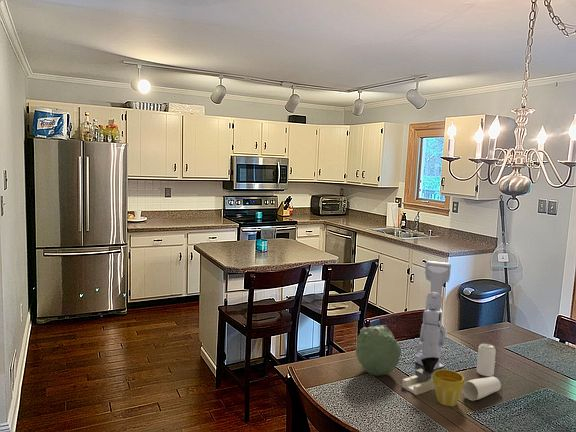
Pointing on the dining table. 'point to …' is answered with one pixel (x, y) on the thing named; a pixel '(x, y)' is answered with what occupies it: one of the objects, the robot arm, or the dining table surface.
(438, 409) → the dining table surface
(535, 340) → the dining table surface
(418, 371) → the fader tab
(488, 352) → the can
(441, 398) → the plant pot
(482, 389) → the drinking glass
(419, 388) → the slider console
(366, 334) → the cabbage
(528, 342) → the dining table surface
